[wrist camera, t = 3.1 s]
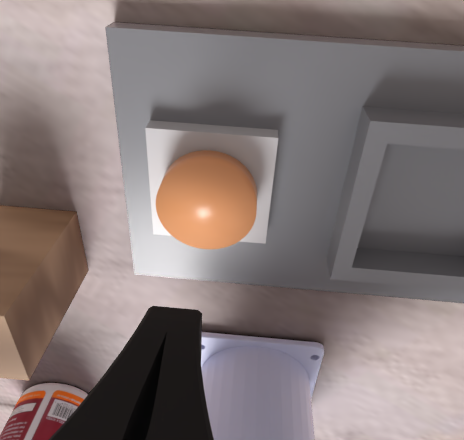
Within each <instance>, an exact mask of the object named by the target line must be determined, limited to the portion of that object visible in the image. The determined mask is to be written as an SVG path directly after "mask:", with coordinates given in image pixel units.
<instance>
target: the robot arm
mask: <svg viewBox="0 0 464 440" xmlns="http://www.w3.org/2000/svg"><path fill="white" fill-rule="evenodd" d="M323 355H324V346H323V345H322V344H320V343H317V342H307V341H296V340H285V339H275V338H264V337H253V336H242V335H231V334H220V333H209V332H202V313H201V312H200V311H198V310H191V309H180V308H169V307H158V306H152V307H150V308H149V309H148V311H147V313H146V314H145V316H144V318H143V319H142V321H141V323H140V324H139V326H138V327H137V329H136V331H135V332H134V334H133V335H132V337H131V338H130V340H129V341H128V343H127V344H126V345H125V347H124V348H123V350H122V351H121V353H120V354H119V355H118V357H117V358H116V359H115V361H114V362H113V363H112V365H111V366H110V368H109V369H108V370H107V372H106V373H105V374H104V376H103V377H102V378H101V379H100V381H99V382H98V383H97V384H96V386H95V387H94V388H93V389H92V390H91V392H90V393H89V394H88V395H87V397H86V398H85V399H84V400H83V402H82V403H81V404H80V405H79V406H78V408H77V409H76V410H75V411H74V412H73V413H72V414H71V416H70V417H69V418H68V419H67V420H66V421H65V422H64V423H63V425H62V426H61V427H60V428H59V429H58V430H57V431H56V432H55V433H54V434H53V435H52V436H51V438H50V439H49V440H315V437H314V426H313V416H312V405H311V398H312V394H313V391H314V387H315V384H316V380H317V377H318V373H319V370H320V366H321V362H322V359H323Z"/></svg>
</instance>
